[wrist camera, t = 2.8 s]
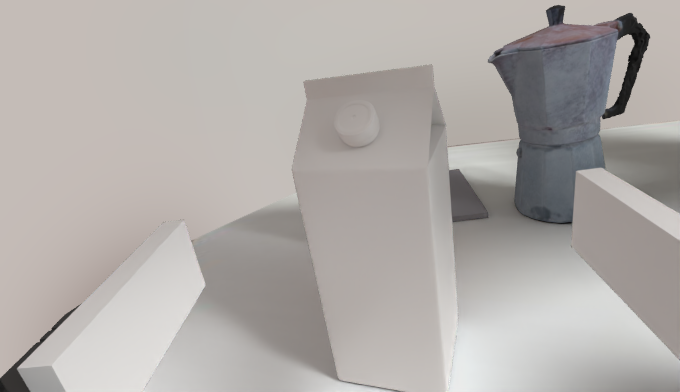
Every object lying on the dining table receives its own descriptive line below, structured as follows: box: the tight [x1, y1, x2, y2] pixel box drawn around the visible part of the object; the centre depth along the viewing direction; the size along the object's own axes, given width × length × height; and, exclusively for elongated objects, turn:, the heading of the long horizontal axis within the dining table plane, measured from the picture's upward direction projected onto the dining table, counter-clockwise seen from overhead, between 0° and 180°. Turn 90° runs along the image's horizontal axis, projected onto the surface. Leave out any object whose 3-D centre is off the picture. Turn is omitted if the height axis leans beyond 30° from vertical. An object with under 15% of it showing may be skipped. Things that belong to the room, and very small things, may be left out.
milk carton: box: [292, 65, 458, 392], centre depth 25 cm, size 7×7×19 cm
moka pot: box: [488, 5, 650, 223], centre depth 40 cm, size 10×15×20 cm, turn 101°
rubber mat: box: [449, 169, 488, 222], centre depth 51 cm, size 18×14×1 cm
